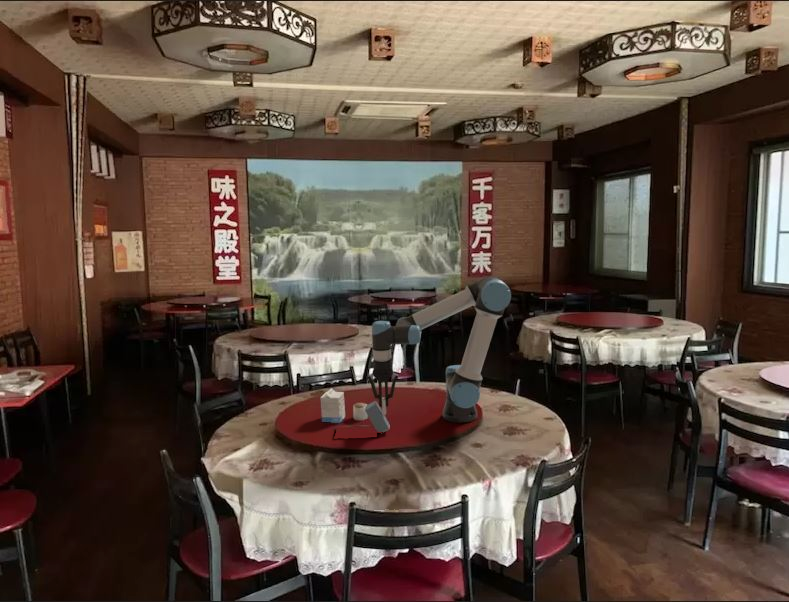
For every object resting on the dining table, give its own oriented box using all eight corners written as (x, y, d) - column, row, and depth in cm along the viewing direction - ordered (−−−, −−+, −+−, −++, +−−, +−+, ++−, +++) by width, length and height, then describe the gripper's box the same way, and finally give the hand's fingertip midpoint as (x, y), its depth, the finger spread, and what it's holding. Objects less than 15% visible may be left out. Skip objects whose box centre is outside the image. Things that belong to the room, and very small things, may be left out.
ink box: (340, 423, 258) (338, 394, 255) (321, 422, 260) (319, 393, 257) (345, 416, 266) (344, 387, 264) (327, 415, 268) (326, 387, 265)
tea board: (378, 426, 253) (378, 424, 253) (377, 438, 241) (377, 435, 241) (336, 428, 253) (336, 426, 253) (333, 439, 241) (333, 437, 241)
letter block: (389, 424, 249) (375, 400, 247) (389, 429, 244) (375, 404, 242) (379, 429, 250) (365, 406, 248) (378, 434, 245) (364, 410, 243)
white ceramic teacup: (368, 414, 267) (367, 401, 266) (367, 420, 261) (367, 406, 260) (354, 415, 267) (353, 402, 266) (353, 420, 261) (352, 407, 260)
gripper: (398, 355, 245) (399, 409, 249) (366, 356, 245) (369, 410, 249) (398, 361, 238) (400, 416, 242) (365, 362, 238) (368, 417, 242)
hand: (384, 413), depth 246 cm, fingers closed
